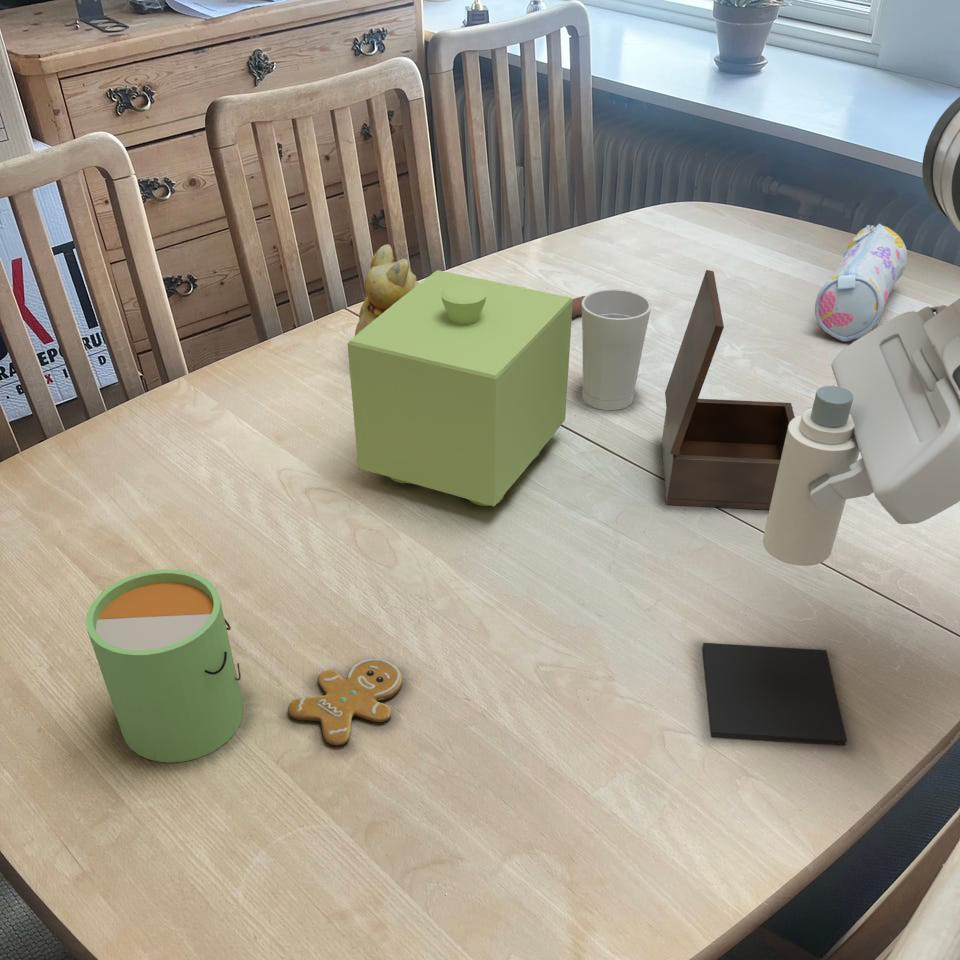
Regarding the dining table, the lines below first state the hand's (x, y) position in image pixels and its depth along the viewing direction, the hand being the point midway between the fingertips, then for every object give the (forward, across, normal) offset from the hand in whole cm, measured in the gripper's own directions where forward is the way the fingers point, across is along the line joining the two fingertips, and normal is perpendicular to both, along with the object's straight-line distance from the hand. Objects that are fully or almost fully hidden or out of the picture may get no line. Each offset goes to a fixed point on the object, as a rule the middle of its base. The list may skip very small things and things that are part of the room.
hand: (806, 474), depth 80 cm
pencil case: (0, -73, +29) cm, 78 cm away
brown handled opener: (+31, -64, -3) cm, 71 cm away
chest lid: (+9, -31, +1) cm, 32 cm away
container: (+35, -31, -6) cm, 47 cm away
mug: (+49, +9, -20) cm, 54 cm away
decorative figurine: (+44, -52, -15) cm, 69 cm away
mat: (+14, +3, +15) cm, 21 cm away
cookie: (+39, +7, -10) cm, 41 cm away
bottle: (+4, 0, +5) cm, 7 cm away
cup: (+24, -47, +5) cm, 53 cm away
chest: (+14, -31, +14) cm, 37 cm away
